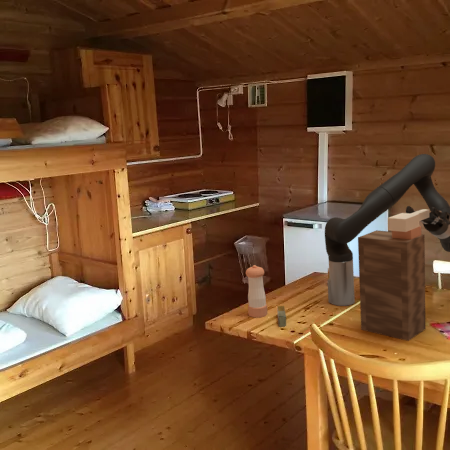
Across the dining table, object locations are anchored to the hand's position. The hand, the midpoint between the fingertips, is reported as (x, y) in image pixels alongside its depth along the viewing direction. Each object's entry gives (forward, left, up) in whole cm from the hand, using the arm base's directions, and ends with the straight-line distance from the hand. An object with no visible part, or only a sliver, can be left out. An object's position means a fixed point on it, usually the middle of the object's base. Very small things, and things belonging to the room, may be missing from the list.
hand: (419, 209), depth 180 cm
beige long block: (-1, -6, -4) cm, 7 cm away
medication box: (-45, -17, -40) cm, 62 cm away
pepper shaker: (-57, -15, -39) cm, 71 cm away
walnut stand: (-7, -10, -39) cm, 41 cm away
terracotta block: (-2, -9, -7) cm, 12 cm away
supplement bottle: (-45, +29, -39) cm, 66 cm away
